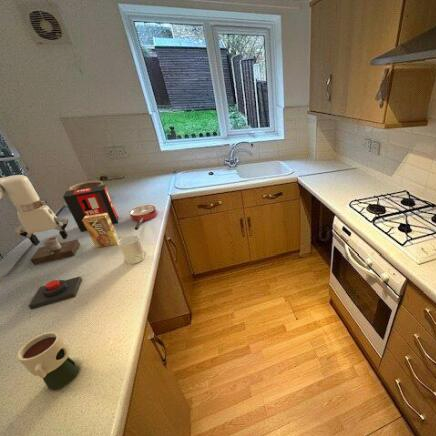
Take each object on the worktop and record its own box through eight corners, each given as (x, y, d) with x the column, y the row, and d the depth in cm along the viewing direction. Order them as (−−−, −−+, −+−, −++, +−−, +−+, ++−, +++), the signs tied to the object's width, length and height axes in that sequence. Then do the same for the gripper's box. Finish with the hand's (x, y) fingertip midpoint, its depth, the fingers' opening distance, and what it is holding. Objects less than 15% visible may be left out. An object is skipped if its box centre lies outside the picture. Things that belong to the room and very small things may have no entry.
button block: (31, 309, 80) (25, 302, 79) (42, 290, 88) (37, 283, 87) (75, 297, 85) (70, 289, 83) (82, 279, 93) (78, 272, 91)
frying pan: (160, 233, 122) (156, 222, 119) (130, 240, 117) (126, 229, 114) (156, 210, 147) (153, 200, 144) (132, 215, 142) (128, 205, 139)
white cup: (150, 256, 105) (143, 237, 100) (132, 267, 99) (123, 247, 94) (139, 251, 109) (132, 233, 104) (121, 261, 103) (113, 241, 98)
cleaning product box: (117, 217, 140) (104, 184, 130) (118, 223, 133) (104, 189, 124) (82, 225, 132) (65, 191, 122) (81, 232, 125) (63, 196, 116)
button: (45, 292, 83) (43, 288, 82) (49, 285, 86) (47, 281, 85) (59, 288, 84) (56, 285, 84) (62, 282, 87) (60, 278, 86)
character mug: (79, 388, 58) (53, 356, 52) (40, 407, 55) (8, 375, 49) (84, 352, 66) (62, 321, 60) (51, 367, 63) (24, 334, 57)
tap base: (33, 265, 101) (29, 259, 100) (42, 252, 109) (38, 247, 108) (74, 255, 107) (71, 250, 105) (80, 244, 115) (77, 239, 113)
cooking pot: (83, 198, 167) (75, 181, 161) (115, 193, 173) (108, 177, 167) (69, 212, 146) (59, 194, 140) (105, 207, 152) (97, 189, 146)
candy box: (119, 240, 118) (107, 212, 110) (117, 244, 114) (105, 216, 107) (98, 243, 115) (84, 215, 108) (95, 248, 112) (81, 219, 104)
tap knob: (46, 252, 104) (40, 242, 101) (50, 247, 107) (44, 237, 105) (59, 250, 106) (53, 239, 103) (62, 245, 109) (57, 235, 107)
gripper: (59, 198, 103) (78, 231, 111) (5, 207, 96) (29, 242, 105) (54, 204, 97) (73, 239, 105) (-4, 214, 90) (22, 251, 99)
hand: (51, 240), depth 105 cm, fingers open, 9 cm apart
